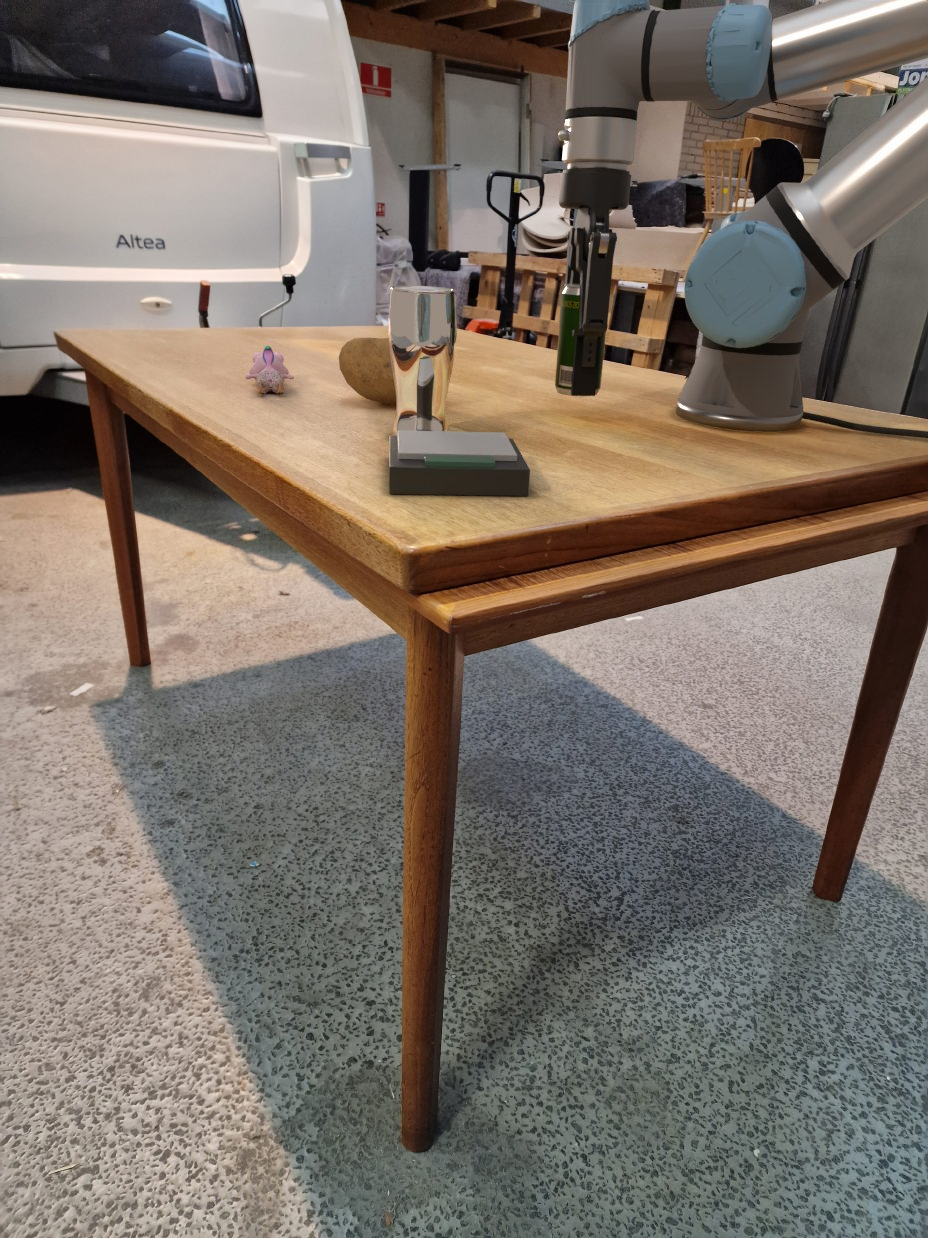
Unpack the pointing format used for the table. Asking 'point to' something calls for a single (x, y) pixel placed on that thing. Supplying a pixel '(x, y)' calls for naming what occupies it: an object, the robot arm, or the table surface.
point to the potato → (369, 368)
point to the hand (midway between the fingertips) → (577, 389)
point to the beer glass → (422, 354)
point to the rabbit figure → (269, 371)
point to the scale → (456, 464)
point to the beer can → (571, 340)
